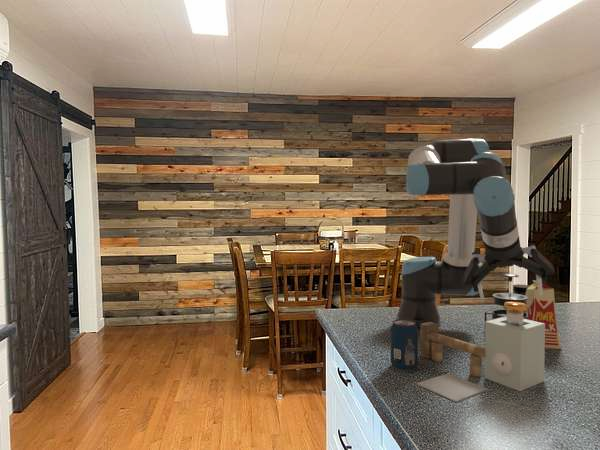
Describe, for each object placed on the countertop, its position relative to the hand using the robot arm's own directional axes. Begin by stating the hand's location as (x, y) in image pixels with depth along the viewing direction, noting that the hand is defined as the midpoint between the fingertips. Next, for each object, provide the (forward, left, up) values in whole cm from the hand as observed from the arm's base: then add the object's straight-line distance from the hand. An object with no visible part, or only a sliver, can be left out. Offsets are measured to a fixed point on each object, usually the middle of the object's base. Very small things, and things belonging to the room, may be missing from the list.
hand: (510, 293), depth 111 cm
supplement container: (-30, +56, -20) cm, 67 cm away
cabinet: (+5, -7, -19) cm, 21 cm away
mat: (-1, -22, -19) cm, 29 cm away
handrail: (-9, -10, -19) cm, 24 cm away
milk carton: (-7, +26, -20) cm, 33 cm away
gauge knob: (+5, -6, -8) cm, 11 cm away
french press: (-6, +8, -20) cm, 22 cm away
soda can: (-16, -22, -20) cm, 33 cm away
